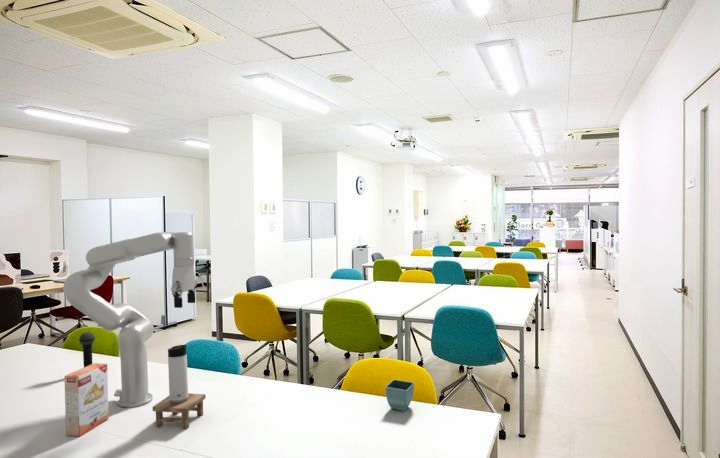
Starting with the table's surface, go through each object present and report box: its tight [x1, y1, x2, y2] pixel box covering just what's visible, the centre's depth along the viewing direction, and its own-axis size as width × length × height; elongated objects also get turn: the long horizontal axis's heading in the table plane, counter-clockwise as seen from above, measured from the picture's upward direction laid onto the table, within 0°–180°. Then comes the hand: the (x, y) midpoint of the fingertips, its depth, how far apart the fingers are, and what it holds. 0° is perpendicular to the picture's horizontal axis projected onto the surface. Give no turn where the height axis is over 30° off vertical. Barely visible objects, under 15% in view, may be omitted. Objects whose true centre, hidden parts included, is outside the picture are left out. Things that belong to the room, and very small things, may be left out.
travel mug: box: [167, 344, 189, 404], centre depth 167 cm, size 6×7×20 cm
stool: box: [152, 392, 206, 430], centre depth 167 cm, size 13×13×8 cm
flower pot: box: [385, 379, 415, 412], centre depth 175 cm, size 9×9×9 cm
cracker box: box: [64, 362, 109, 437], centre depth 163 cm, size 14×6×21 cm, turn 170°
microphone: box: [78, 331, 96, 368], centre depth 219 cm, size 7×7×20 cm
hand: (185, 305), depth 186 cm, fingers open, 9 cm apart
